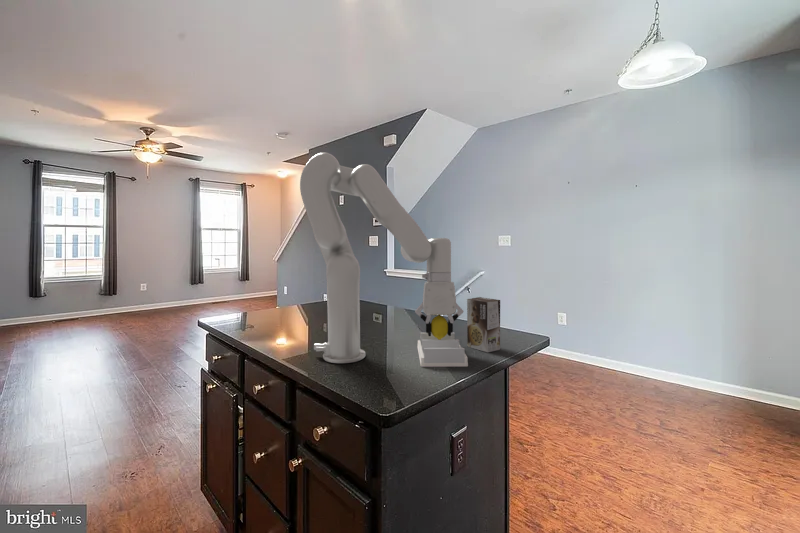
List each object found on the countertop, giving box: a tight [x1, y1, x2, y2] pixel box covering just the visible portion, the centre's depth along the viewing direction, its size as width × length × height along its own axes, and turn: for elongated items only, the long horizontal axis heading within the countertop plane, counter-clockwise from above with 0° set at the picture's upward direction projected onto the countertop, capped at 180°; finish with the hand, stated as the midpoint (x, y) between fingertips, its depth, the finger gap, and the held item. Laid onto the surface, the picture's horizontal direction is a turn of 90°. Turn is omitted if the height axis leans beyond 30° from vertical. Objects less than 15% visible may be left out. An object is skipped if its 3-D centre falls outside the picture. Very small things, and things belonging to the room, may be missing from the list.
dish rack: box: [416, 331, 469, 368], centre depth 109 cm, size 13×19×5 cm
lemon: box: [430, 315, 448, 340], centre depth 113 cm, size 6×6×8 cm
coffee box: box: [466, 296, 501, 353], centre depth 117 cm, size 9×6×16 cm
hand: (439, 334), depth 113 cm, fingers closed on lemon, 5 cm apart
